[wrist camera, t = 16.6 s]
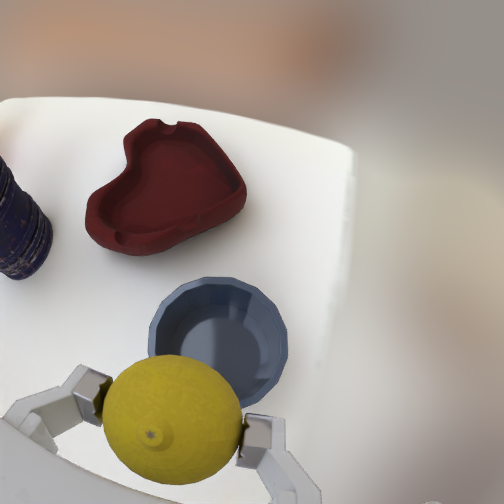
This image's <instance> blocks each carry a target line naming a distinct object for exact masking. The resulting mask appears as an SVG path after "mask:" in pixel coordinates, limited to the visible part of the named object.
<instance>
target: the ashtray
mask: <svg viewBox="0 0 504 504" xmlns="http://www.w3.org/2000/svg"><path fill="white" fill-rule="evenodd" d="M123 144H124V151H125V155H126V159H127V165H126V168H125V170H124V171H123V172H122V173H121V174H120V175H119V176H118V177H117V178H115V179H114V180H113V181H111V182H110V183H108V184H106V185H105V186H103V187H101V188H99V189H98V190H96V191H95V192H94V193H92V194H91V196H90V197H89V199H88V202H87V209H86V216H85V228H86V230H87V232H88V234H89V235H90V237H91V238H92V239H93V240H94V241H95V242H97V243H98V244H99V245H101V246H102V247H104V248H107V249H109V250H112V251H116V252H120V253H123V254H127V255H132V256H146V255H152V254H157V253H160V252H163V251H165V250H167V249H169V248H171V247H173V246H175V245H176V244H178V243H180V242H182V241H184V240H186V239H189V238H191V237H193V236H195V235H197V234H199V233H202V232H204V231H206V230H208V229H210V228H213V227H215V226H217V225H220V224H222V223H224V222H226V221H227V220H229V219H231V218H232V217H234V216H235V215H236V214H238V213H239V212H240V210H241V209H242V208H243V206H244V204H245V201H246V197H247V189H246V185H245V183H244V181H243V179H242V177H241V175H240V174H239V172H238V171H237V169H236V168H235V166H234V165H233V163H232V162H231V161H230V159H229V158H228V157H227V155H226V154H225V153H224V151H223V150H222V149H221V148H220V146H219V145H218V144H217V143H216V142H215V141H214V139H213V138H212V137H211V136H210V135H209V134H208V133H207V132H206V131H205V130H204V129H203V128H202V127H201V126H200V125H198V124H196V123H192V122H181V121H178V122H177V124H176V125H167V124H165V123H163V122H162V121H161V120H160V119H148V120H145V121H144V122H142V123H141V124H140V125H138V126H137V127H136V128H135V129H133V130H132V131H131V132H129V133H128V134H127V135H126V136H125V137H124V140H123Z"/></svg>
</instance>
